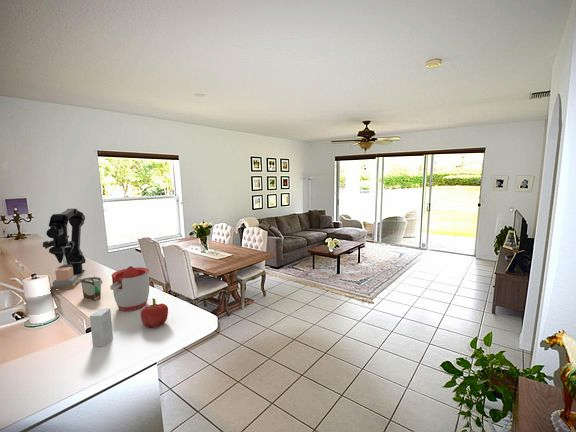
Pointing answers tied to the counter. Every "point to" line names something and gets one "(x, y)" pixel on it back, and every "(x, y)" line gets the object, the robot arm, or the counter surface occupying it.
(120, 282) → the citrus juicer
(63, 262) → the small box
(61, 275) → the terracotta block
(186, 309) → the counter surface
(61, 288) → the walnut slab
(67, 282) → the grey slab
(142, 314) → the vegetable
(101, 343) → the skincare box
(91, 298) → the food container
